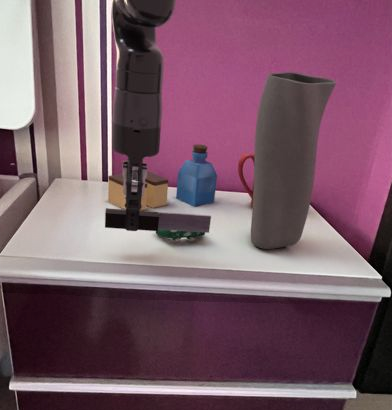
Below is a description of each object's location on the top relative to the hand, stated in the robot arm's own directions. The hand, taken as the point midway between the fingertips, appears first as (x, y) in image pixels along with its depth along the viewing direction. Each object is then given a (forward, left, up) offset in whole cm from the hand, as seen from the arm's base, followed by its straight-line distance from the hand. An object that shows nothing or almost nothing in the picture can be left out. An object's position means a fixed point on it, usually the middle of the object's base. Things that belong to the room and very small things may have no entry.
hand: (131, 226), depth 96 cm
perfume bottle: (+32, +16, -6) cm, 36 cm away
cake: (+19, +21, -6) cm, 29 cm away
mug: (+42, +5, -6) cm, 43 cm away
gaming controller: (+13, +1, -6) cm, 15 cm away
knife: (+3, -3, 0) cm, 5 cm away
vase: (+27, -10, -6) cm, 30 cm away
